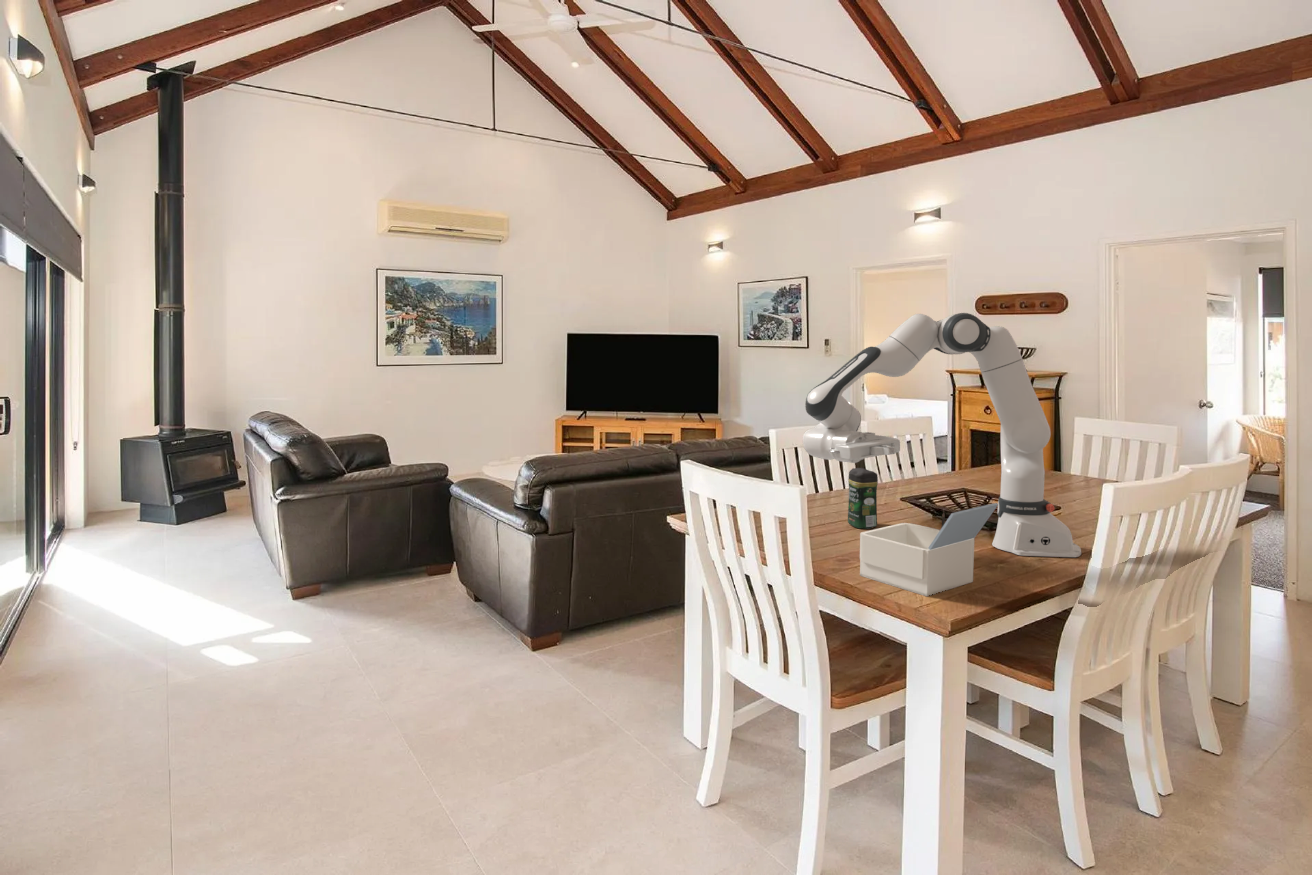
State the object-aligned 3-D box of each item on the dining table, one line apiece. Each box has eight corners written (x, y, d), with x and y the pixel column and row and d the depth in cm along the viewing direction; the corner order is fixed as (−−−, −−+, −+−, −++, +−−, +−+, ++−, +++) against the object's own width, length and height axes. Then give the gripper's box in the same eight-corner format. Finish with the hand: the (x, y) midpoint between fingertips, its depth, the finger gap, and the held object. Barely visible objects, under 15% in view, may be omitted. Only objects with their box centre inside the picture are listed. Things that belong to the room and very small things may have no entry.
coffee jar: (843, 523, 251) (844, 467, 248) (866, 521, 252) (867, 465, 250) (857, 530, 241) (858, 471, 239) (880, 528, 243) (882, 470, 241)
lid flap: (951, 513, 173) (953, 514, 172) (996, 502, 182) (998, 504, 182) (928, 548, 179) (929, 549, 178) (972, 536, 188) (974, 537, 188)
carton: (856, 575, 196) (857, 533, 195) (905, 562, 207) (906, 522, 206) (925, 597, 179) (926, 551, 178) (974, 581, 190) (975, 537, 189)
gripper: (824, 439, 207) (865, 443, 196) (874, 431, 219) (916, 435, 208) (825, 462, 208) (865, 468, 197) (874, 453, 220) (916, 458, 208)
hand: (892, 451), depth 202 cm, fingers closed
